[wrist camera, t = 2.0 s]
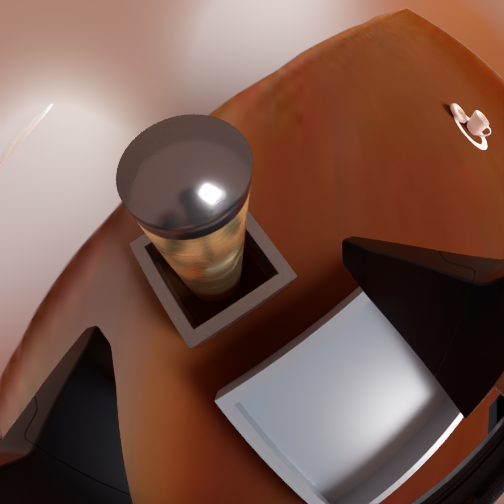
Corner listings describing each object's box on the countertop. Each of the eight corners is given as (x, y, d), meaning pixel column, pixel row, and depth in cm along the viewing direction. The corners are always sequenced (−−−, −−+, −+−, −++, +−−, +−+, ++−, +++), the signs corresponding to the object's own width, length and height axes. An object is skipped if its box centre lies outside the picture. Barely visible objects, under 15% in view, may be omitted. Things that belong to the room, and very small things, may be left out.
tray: (450, 397, 17) (475, 400, 14) (326, 509, 14) (339, 529, 10) (374, 273, 20) (396, 260, 17) (218, 390, 17) (214, 401, 14)
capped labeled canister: (251, 281, 20) (281, 177, 7) (204, 312, 19) (149, 255, 6) (221, 237, 20) (208, 99, 8) (175, 266, 20) (100, 154, 7)
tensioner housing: (286, 287, 20) (297, 276, 16) (197, 347, 18) (189, 348, 14) (228, 208, 21) (227, 184, 18) (144, 259, 19) (128, 243, 16)
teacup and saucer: (441, 108, 30) (453, 92, 26) (463, 111, 32) (474, 97, 28) (472, 152, 28) (487, 137, 24) (491, 151, 29) (504, 138, 25)
